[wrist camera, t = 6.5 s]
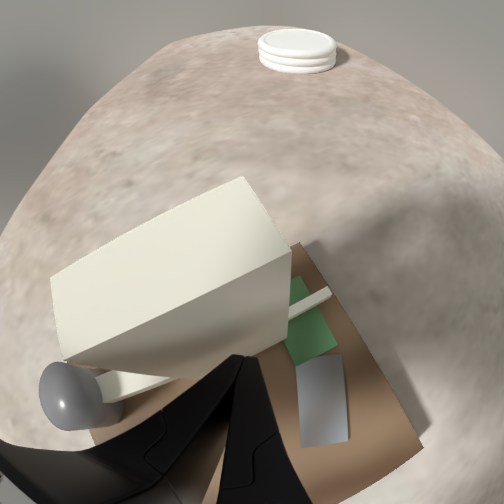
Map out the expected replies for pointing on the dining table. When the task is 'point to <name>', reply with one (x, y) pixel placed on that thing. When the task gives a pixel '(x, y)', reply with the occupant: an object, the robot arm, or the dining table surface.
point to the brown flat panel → (313, 400)
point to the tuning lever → (168, 304)
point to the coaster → (297, 51)
